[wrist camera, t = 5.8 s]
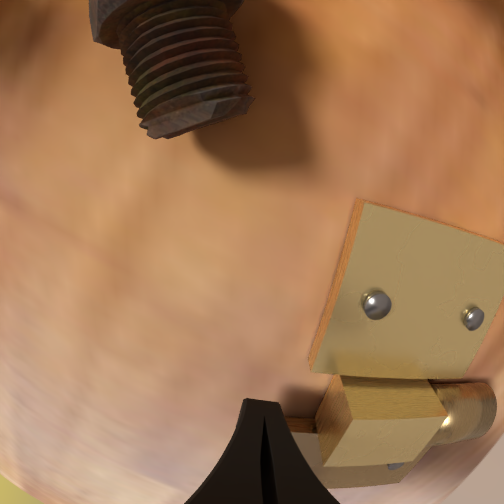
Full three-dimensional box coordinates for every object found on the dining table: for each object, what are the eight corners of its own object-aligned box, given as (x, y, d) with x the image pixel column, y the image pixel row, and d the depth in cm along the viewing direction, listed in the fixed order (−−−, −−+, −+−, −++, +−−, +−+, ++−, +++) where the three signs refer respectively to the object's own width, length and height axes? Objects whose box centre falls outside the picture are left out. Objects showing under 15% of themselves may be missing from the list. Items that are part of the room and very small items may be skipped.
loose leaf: (423, 416, 14) (443, 456, 11) (286, 414, 13) (290, 465, 10) (507, 244, 10) (551, 268, 8) (356, 198, 10) (391, 217, 7)
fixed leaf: (404, 470, 16) (416, 505, 13) (234, 470, 15) (231, 514, 12) (478, 371, 13) (505, 407, 10) (269, 357, 12) (271, 414, 9)
